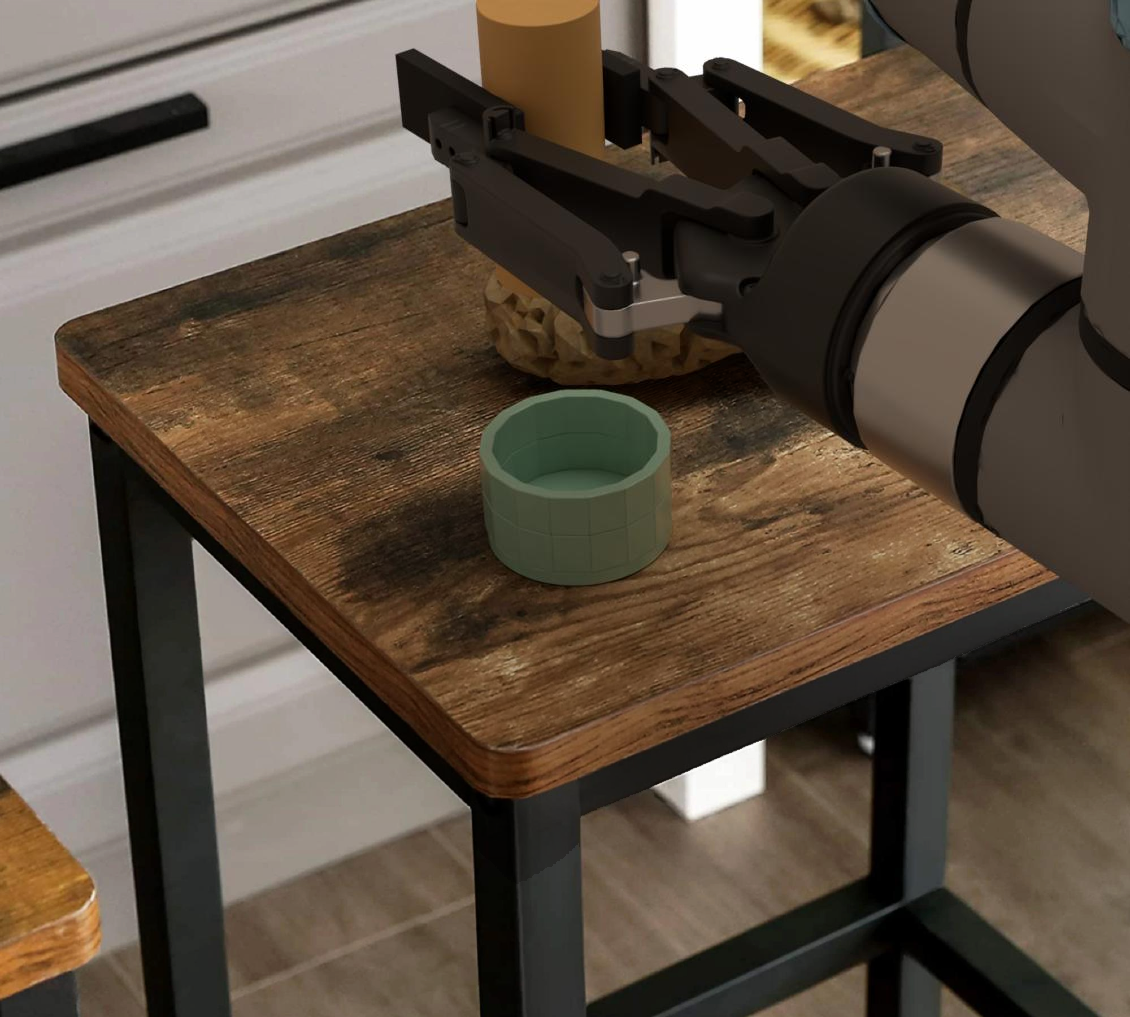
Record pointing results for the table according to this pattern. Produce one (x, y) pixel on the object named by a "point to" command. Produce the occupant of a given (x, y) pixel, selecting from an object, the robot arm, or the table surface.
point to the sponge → (563, 352)
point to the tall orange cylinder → (546, 75)
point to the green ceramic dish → (577, 486)
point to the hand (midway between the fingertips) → (465, 68)
